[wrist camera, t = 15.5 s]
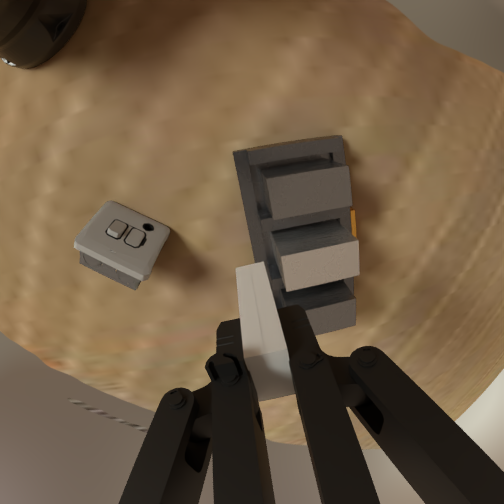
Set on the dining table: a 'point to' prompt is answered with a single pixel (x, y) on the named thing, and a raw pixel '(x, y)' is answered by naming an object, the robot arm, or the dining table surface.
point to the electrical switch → (121, 244)
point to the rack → (299, 216)
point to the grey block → (315, 254)
